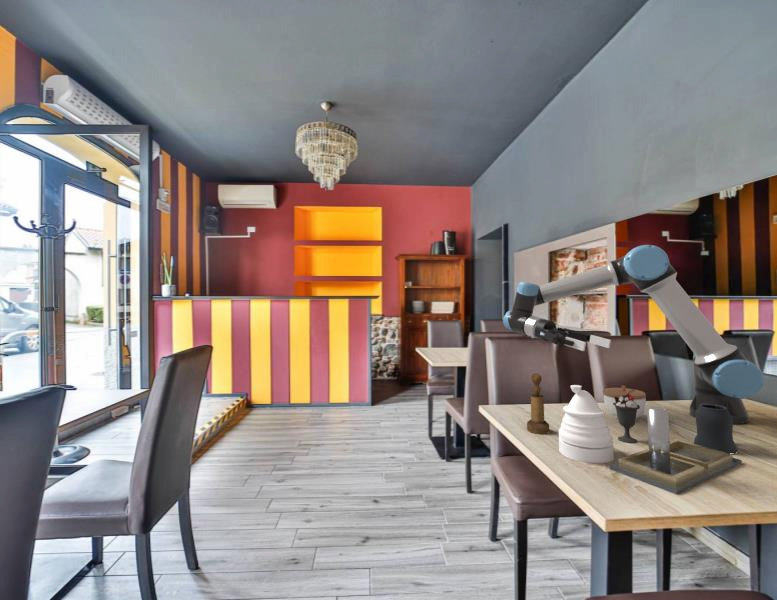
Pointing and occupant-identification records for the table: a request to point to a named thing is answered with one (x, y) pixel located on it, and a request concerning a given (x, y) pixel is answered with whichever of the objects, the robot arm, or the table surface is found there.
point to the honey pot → (585, 430)
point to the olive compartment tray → (672, 458)
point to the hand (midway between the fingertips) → (597, 345)
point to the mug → (714, 428)
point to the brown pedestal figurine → (537, 409)
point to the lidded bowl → (618, 392)
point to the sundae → (626, 415)
